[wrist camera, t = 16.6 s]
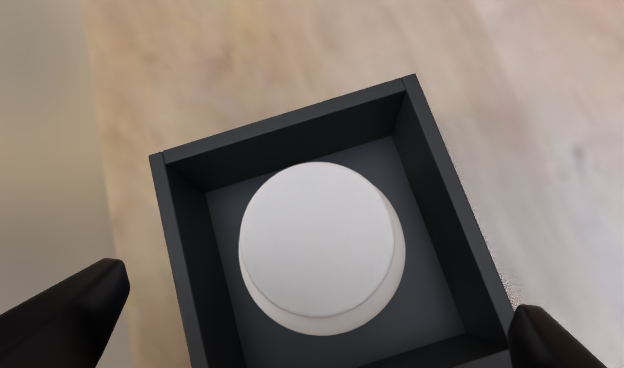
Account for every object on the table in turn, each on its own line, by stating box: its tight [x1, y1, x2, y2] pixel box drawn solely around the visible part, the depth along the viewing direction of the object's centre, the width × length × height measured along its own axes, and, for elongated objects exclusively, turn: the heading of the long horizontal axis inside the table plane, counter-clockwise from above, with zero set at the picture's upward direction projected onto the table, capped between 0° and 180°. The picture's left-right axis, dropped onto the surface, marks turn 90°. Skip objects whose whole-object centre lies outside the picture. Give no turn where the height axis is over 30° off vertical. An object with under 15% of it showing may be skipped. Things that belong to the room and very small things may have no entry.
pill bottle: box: [239, 162, 405, 336], centre depth 15 cm, size 5×5×10 cm
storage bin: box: [149, 74, 514, 368], centre depth 18 cm, size 11×11×6 cm
